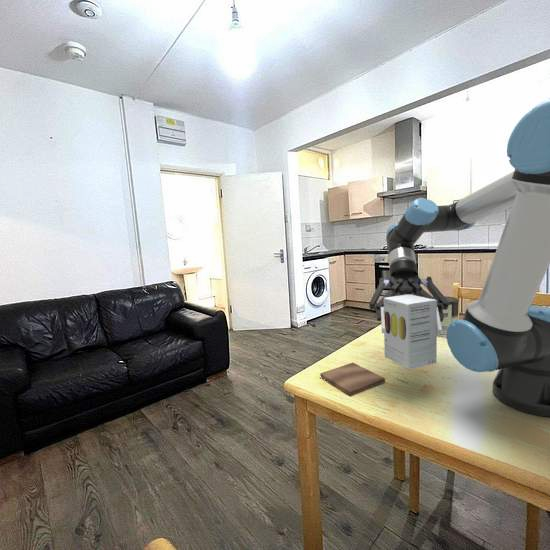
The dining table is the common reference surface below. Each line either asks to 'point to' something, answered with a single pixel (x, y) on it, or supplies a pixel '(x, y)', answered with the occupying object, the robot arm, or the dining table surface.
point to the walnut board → (352, 378)
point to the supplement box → (410, 330)
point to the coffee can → (449, 315)
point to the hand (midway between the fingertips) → (410, 331)
